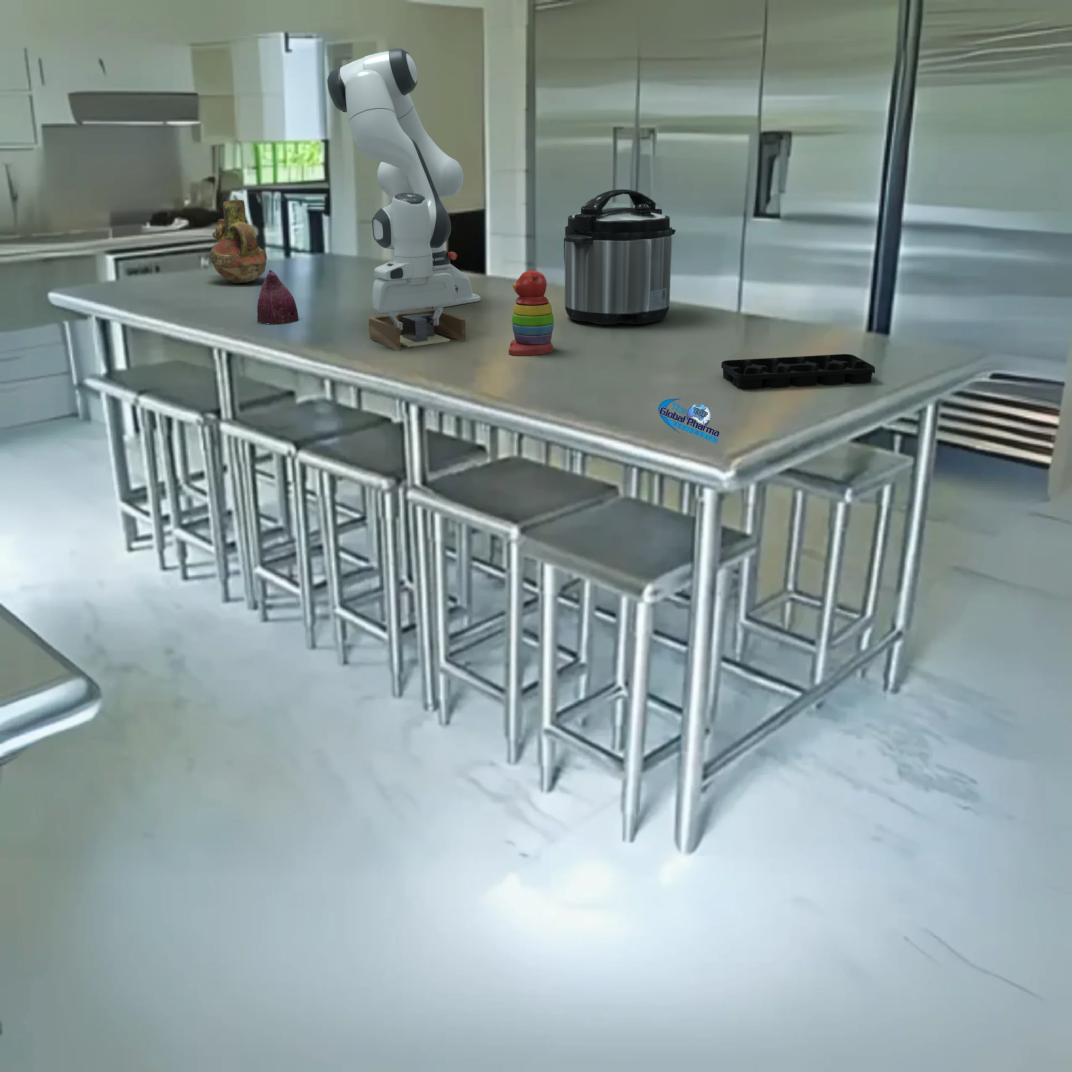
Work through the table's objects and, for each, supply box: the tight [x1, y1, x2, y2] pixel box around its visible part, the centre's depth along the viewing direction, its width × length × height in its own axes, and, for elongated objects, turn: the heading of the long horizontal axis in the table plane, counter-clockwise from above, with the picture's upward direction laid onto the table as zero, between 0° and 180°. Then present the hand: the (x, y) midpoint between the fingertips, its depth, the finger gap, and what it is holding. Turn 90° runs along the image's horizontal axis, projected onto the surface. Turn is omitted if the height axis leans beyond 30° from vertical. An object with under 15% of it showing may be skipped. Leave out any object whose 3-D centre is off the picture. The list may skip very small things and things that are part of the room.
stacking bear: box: [508, 269, 555, 357], centre depth 239 cm, size 11×10×18 cm
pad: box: [400, 333, 451, 348], centre depth 254 cm, size 11×11×1 cm
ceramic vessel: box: [209, 199, 268, 284], centre depth 333 cm, size 17×26×25 cm, turn 43°
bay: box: [367, 309, 467, 351], centre depth 254 cm, size 18×15×5 cm
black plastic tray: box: [720, 353, 876, 391], centre depth 215 cm, size 18×30×4 cm, turn 111°
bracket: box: [401, 313, 435, 342], centre depth 254 cm, size 7×7×5 cm
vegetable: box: [256, 269, 299, 325], centre depth 275 cm, size 10×10×15 cm
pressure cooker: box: [563, 188, 676, 325], centre depth 271 cm, size 30×28×32 cm
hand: (416, 327), depth 252 cm, fingers open, 8 cm apart
